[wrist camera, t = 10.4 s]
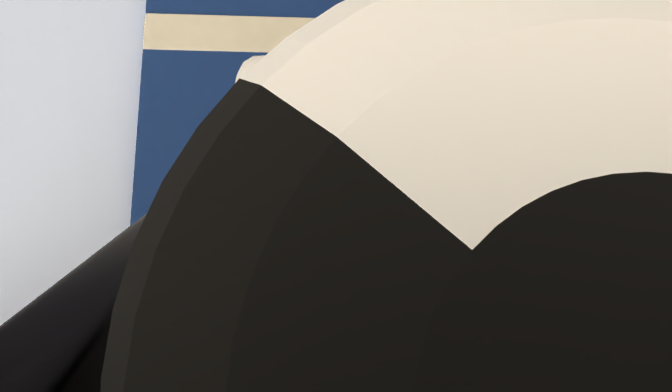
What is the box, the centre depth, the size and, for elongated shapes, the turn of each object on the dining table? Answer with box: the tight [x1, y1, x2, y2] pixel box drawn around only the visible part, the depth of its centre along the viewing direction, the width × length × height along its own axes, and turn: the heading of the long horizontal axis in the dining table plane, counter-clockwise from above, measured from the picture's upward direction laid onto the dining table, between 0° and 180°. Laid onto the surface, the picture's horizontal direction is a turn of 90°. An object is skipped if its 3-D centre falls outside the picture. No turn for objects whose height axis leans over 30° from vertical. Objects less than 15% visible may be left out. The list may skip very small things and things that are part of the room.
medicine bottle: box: [100, 0, 672, 392], centre depth 9 cm, size 7×7×12 cm
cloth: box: [130, 0, 344, 226], centre depth 17 cm, size 20×15×1 cm
